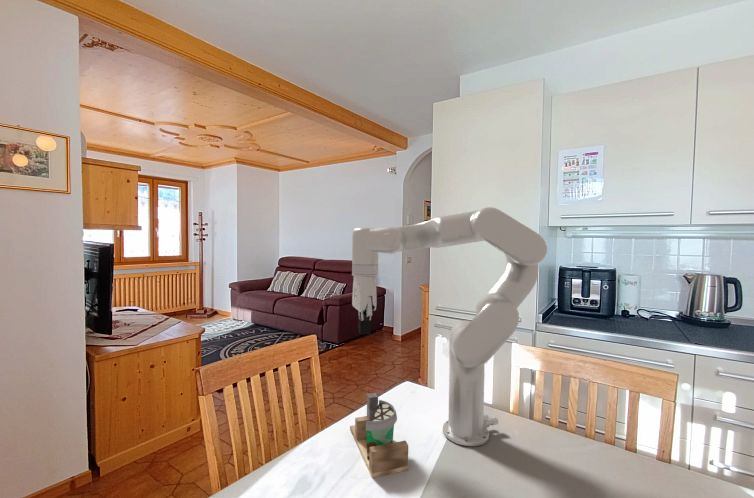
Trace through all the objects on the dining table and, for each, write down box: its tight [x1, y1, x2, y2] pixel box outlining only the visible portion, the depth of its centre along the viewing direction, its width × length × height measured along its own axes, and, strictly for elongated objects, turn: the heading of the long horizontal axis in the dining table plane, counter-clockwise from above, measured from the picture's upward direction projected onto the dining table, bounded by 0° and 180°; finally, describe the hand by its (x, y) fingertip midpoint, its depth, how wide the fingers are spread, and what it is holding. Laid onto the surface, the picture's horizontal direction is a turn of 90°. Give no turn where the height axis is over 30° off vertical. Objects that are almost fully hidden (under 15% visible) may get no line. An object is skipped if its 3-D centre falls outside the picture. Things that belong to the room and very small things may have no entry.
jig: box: [349, 424, 409, 479], centre depth 91 cm, size 9×21×6 cm, turn 18°
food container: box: [366, 399, 398, 459], centre depth 88 cm, size 12×6×10 cm, turn 164°
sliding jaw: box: [354, 392, 379, 440], centre depth 94 cm, size 9×2×11 cm, turn 108°
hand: (364, 333), depth 101 cm, fingers closed
